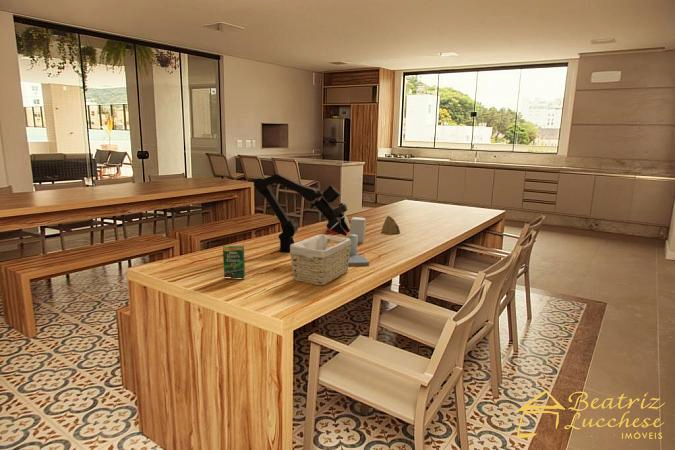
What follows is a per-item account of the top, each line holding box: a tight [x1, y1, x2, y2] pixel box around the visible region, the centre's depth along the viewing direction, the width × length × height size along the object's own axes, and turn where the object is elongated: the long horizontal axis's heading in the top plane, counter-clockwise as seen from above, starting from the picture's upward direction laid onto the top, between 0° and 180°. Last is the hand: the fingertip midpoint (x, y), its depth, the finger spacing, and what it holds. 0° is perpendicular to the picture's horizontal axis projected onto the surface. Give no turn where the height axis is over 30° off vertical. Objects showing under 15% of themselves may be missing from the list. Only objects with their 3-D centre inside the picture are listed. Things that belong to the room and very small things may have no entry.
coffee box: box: [222, 245, 246, 279], centre depth 170 cm, size 8×3×13 cm, turn 90°
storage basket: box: [289, 233, 351, 286], centre depth 177 cm, size 24×16×15 cm
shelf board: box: [348, 254, 370, 267], centre depth 199 cm, size 14×12×2 cm
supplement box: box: [349, 216, 367, 244], centre depth 238 cm, size 7×7×13 cm
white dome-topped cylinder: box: [347, 234, 359, 255], centre depth 209 cm, size 4×4×10 cm
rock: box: [380, 215, 401, 234], centre depth 261 cm, size 11×9×10 cm
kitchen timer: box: [326, 206, 351, 234], centre depth 262 cm, size 14×14×15 cm
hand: (347, 233), depth 208 cm, fingers open, 9 cm apart
